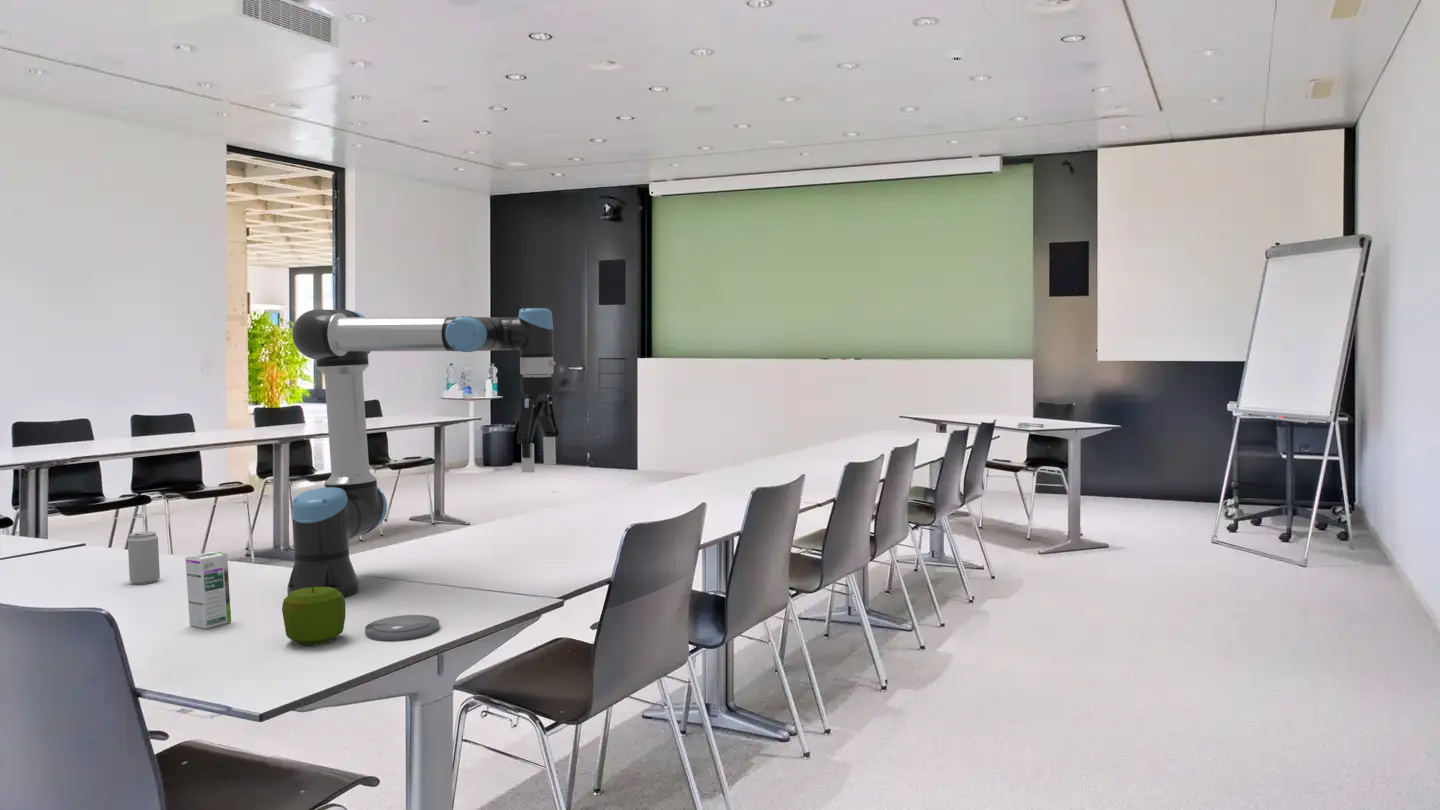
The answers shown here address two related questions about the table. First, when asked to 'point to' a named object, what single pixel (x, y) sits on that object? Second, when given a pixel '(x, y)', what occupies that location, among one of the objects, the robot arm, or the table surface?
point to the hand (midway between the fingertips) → (539, 468)
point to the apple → (313, 615)
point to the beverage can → (143, 557)
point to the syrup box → (208, 589)
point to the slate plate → (402, 627)
